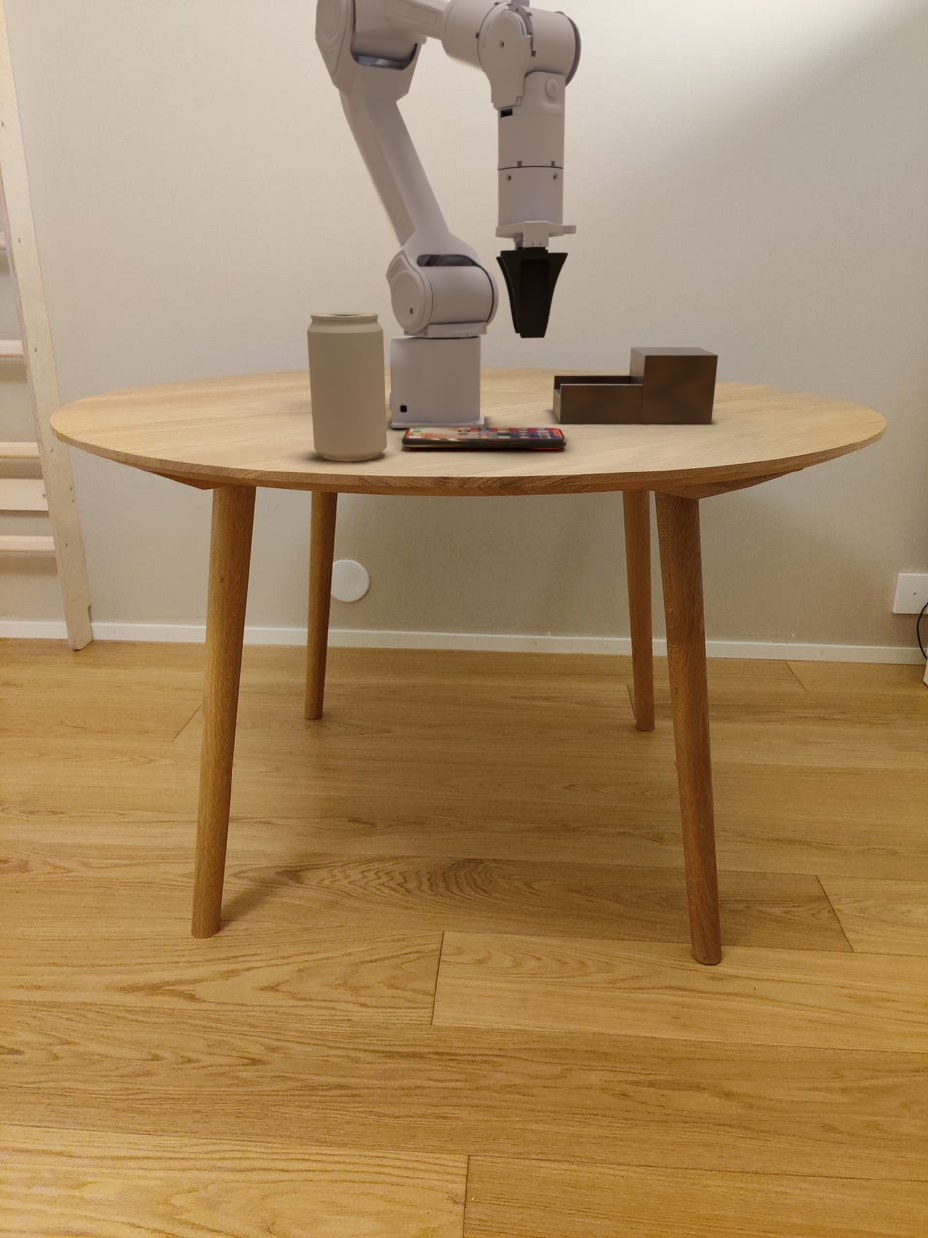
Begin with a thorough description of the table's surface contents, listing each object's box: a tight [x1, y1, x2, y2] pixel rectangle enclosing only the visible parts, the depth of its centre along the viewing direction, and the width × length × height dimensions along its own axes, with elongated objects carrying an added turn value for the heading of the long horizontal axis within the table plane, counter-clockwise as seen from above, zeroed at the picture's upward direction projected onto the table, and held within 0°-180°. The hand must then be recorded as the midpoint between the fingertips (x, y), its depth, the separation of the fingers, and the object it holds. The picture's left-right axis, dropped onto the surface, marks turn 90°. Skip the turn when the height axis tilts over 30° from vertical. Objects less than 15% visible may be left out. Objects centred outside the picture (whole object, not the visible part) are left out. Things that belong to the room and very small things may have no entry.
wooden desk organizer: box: [552, 346, 719, 425], centre depth 100 cm, size 16×9×7 cm, turn 90°
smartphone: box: [401, 426, 567, 450], centre depth 86 cm, size 7×1×15 cm
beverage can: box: [306, 312, 388, 462], centre depth 79 cm, size 6×6×12 cm
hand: (529, 335), depth 84 cm, fingers open, 7 cm apart
